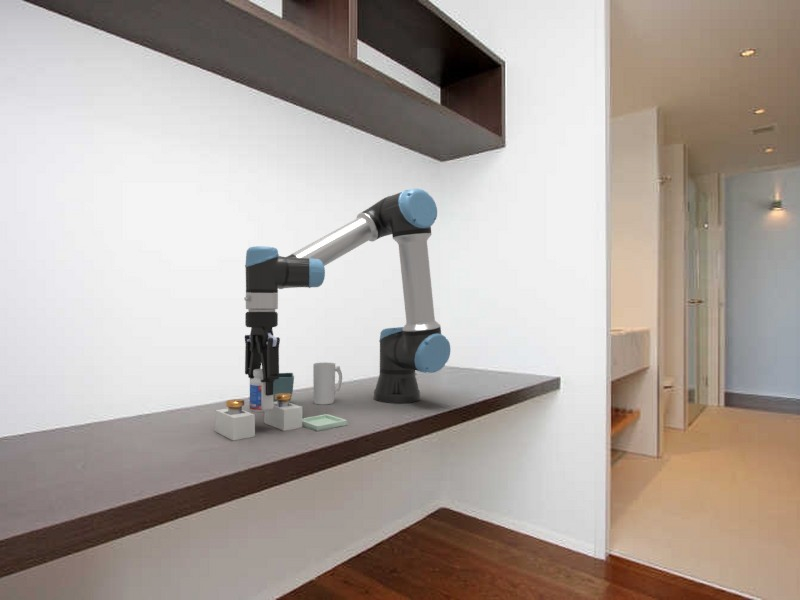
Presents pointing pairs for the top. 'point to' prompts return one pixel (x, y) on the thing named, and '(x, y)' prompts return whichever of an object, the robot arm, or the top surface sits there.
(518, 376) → the top surface
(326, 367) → the mug
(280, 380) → the flower pot
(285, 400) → the plunger
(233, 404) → the plunger
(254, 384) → the pill bottle
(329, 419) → the tray
